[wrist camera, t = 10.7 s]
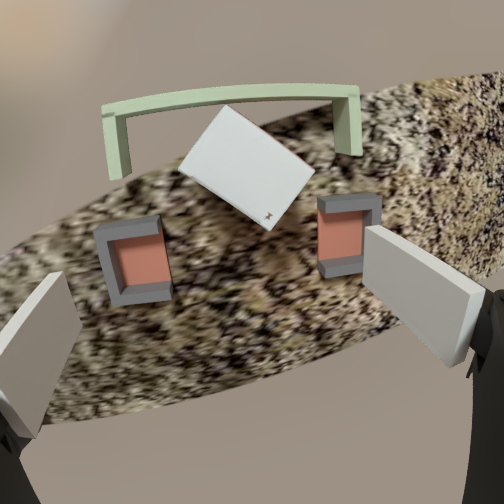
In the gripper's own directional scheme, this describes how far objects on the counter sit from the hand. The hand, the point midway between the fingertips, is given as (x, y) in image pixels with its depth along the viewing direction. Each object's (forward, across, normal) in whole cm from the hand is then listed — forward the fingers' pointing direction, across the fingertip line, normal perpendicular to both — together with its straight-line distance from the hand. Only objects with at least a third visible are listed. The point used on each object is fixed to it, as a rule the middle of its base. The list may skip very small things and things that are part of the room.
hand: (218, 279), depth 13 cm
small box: (+20, +3, +3) cm, 21 cm away
